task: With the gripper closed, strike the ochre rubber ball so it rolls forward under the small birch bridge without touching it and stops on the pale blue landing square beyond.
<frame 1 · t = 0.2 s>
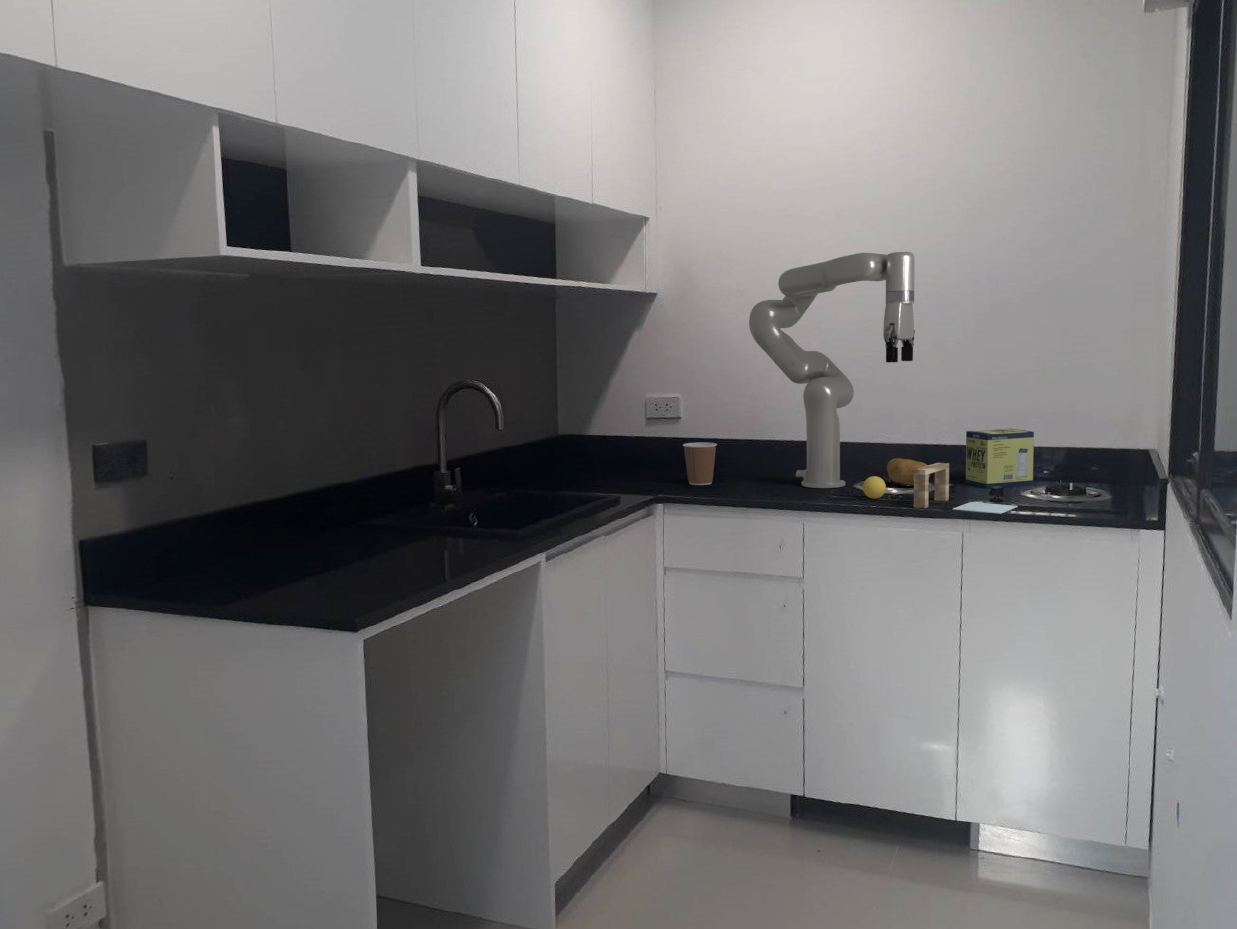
hand: (899, 361, 285), 36 cm above the counter, tool pointing down, fingers open, 9 cm apart
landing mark: (985, 508, 261), on the counter
potato: (908, 487, 299), on the counter
protein box: (998, 485, 298), on the counter
bridge: (931, 503, 270), on the counter
coffee cup: (700, 484, 316), on the counter
ball: (874, 487, 280), on the counter
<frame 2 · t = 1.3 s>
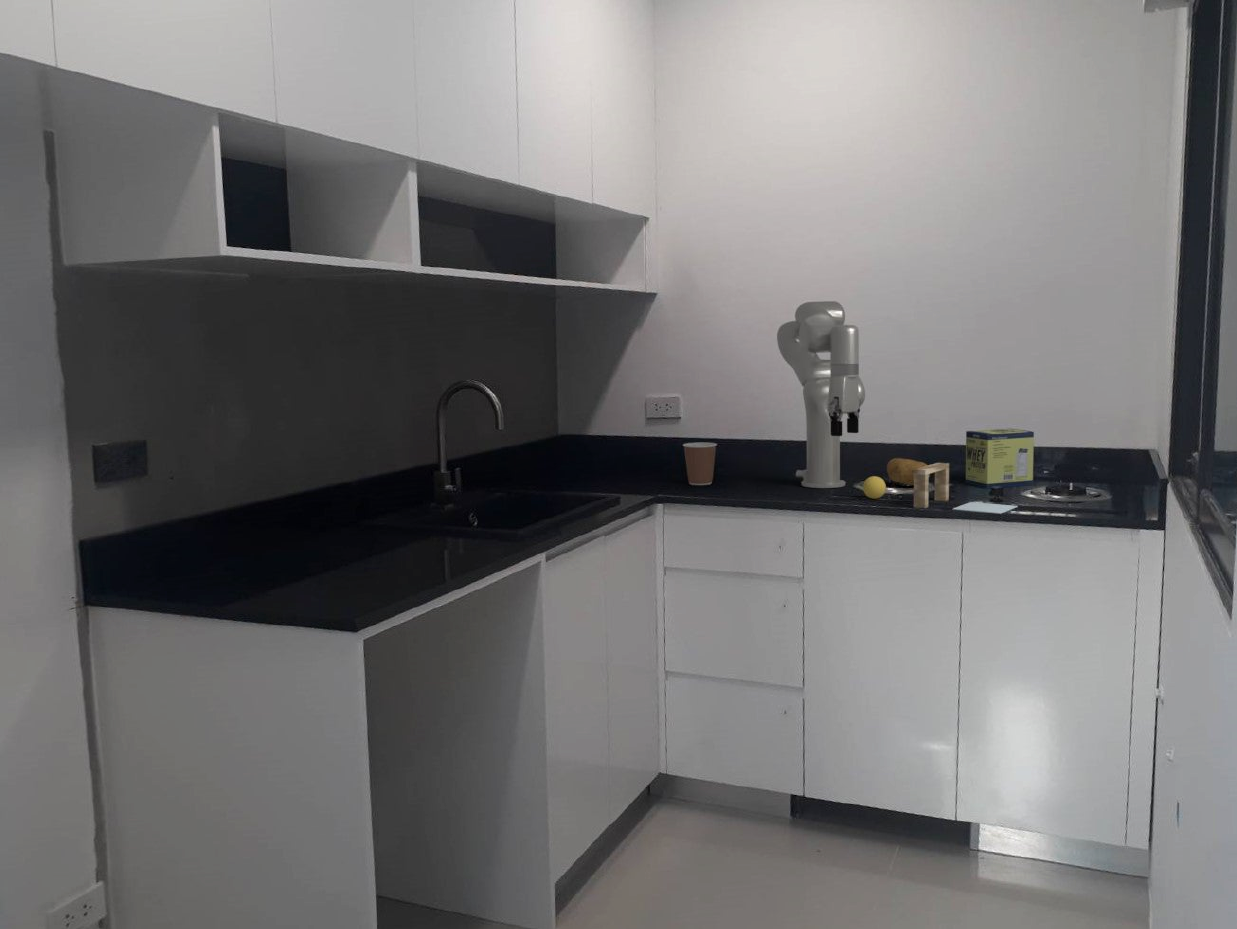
hand: (844, 434, 284), 17 cm above the counter, tool pointing down, fingers open, 9 cm apart
nothing on the counter moved.
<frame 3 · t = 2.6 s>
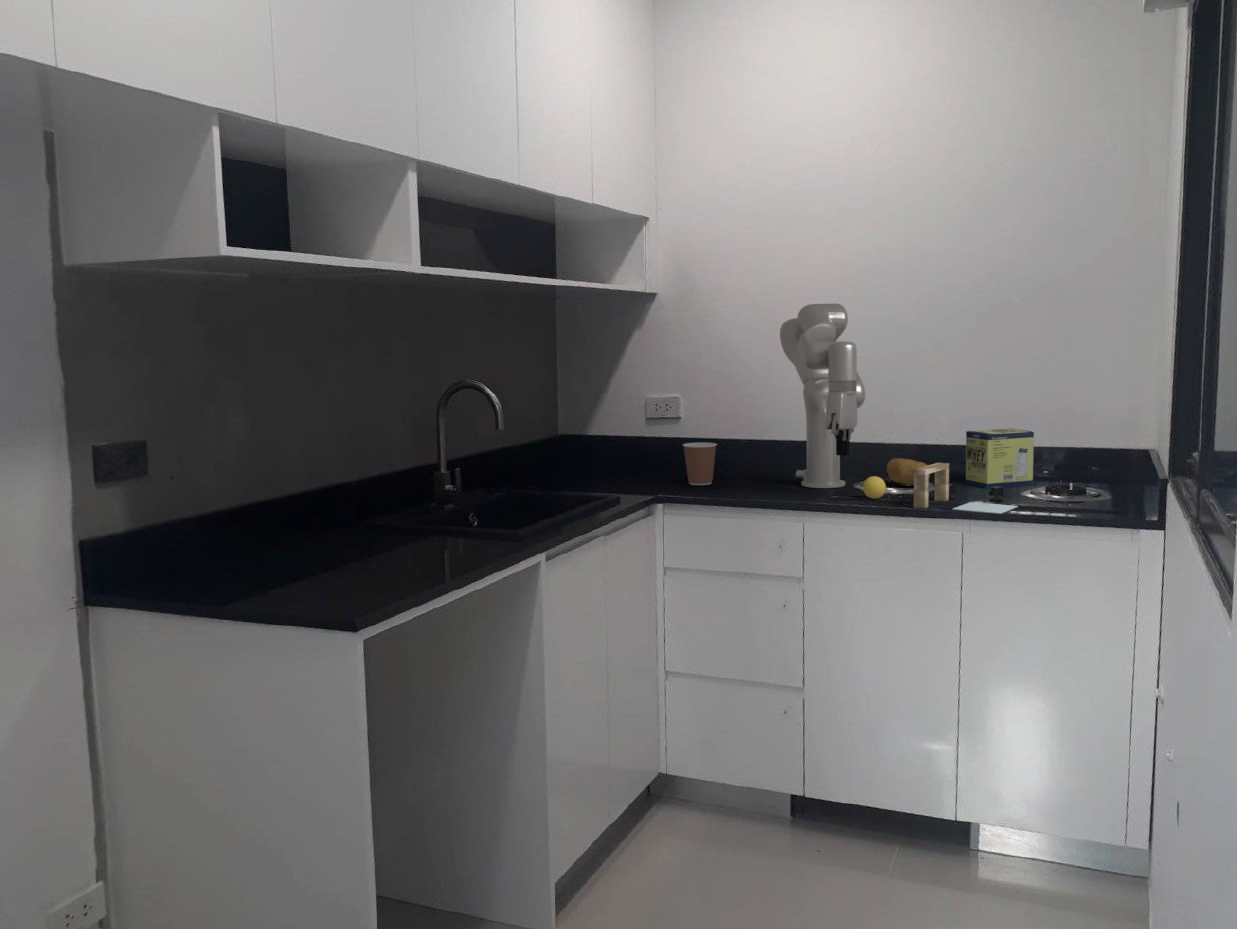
hand: (842, 455, 284), 11 cm above the counter, tool pointing down, fingers closed
nothing on the counter moved.
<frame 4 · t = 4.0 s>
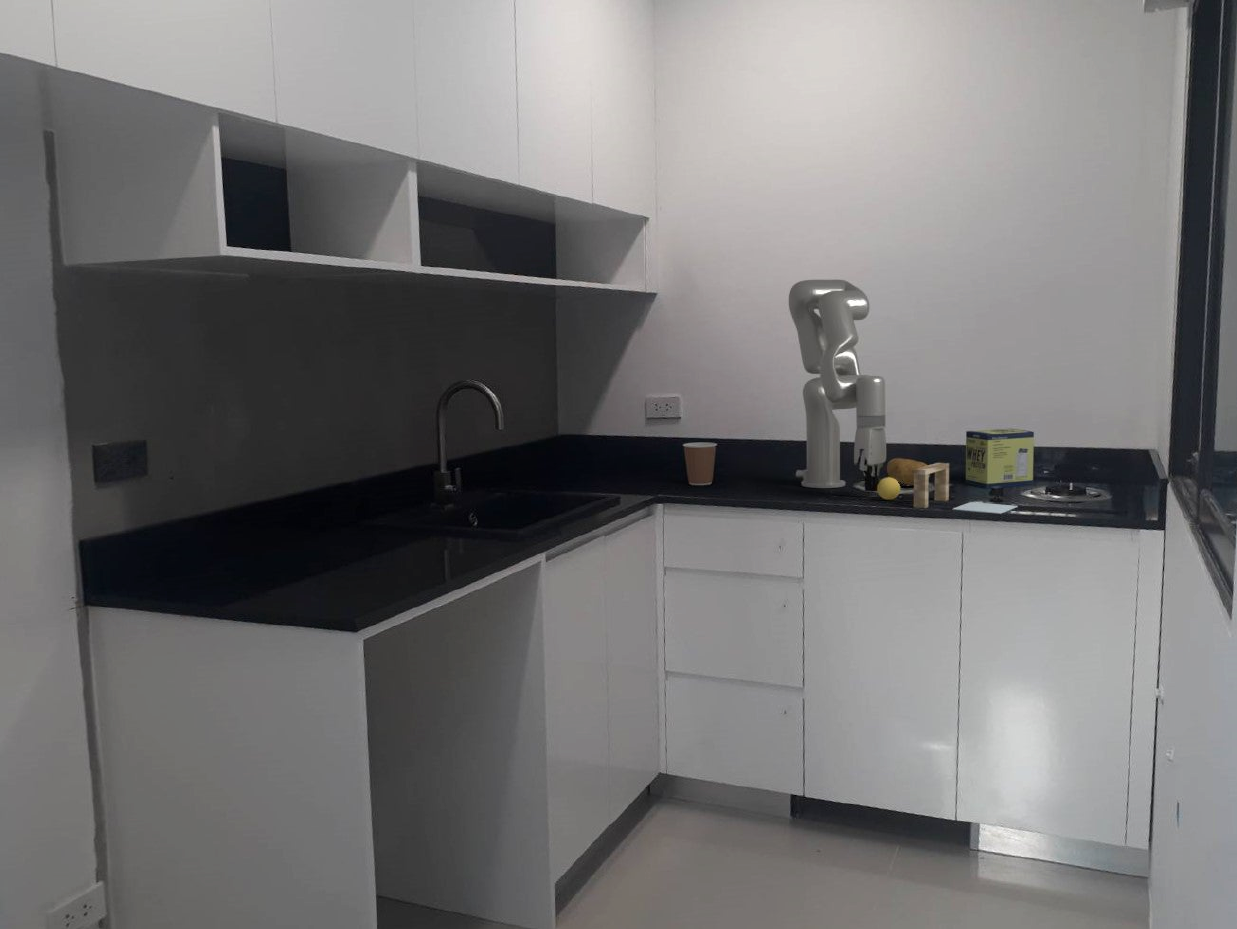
hand: (871, 490, 280), 2 cm above the counter, tool pointing down, fingers closed
ball: (888, 488, 277), on the counter
everything else where it was.
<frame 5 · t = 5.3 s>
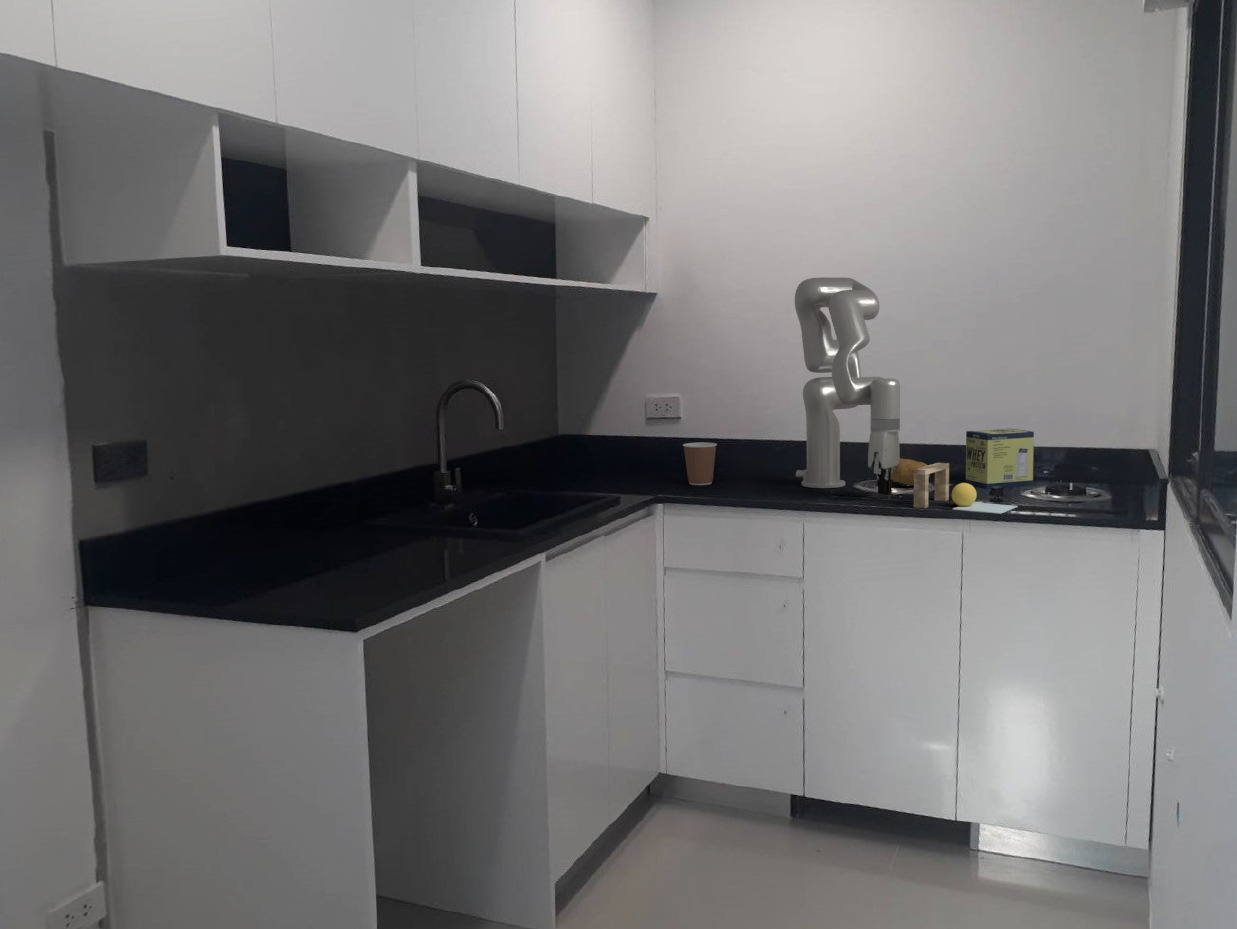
hand: (884, 493, 278), 2 cm above the counter, tool pointing down, fingers closed
ball: (964, 494, 264), on the counter
everything else where it was.
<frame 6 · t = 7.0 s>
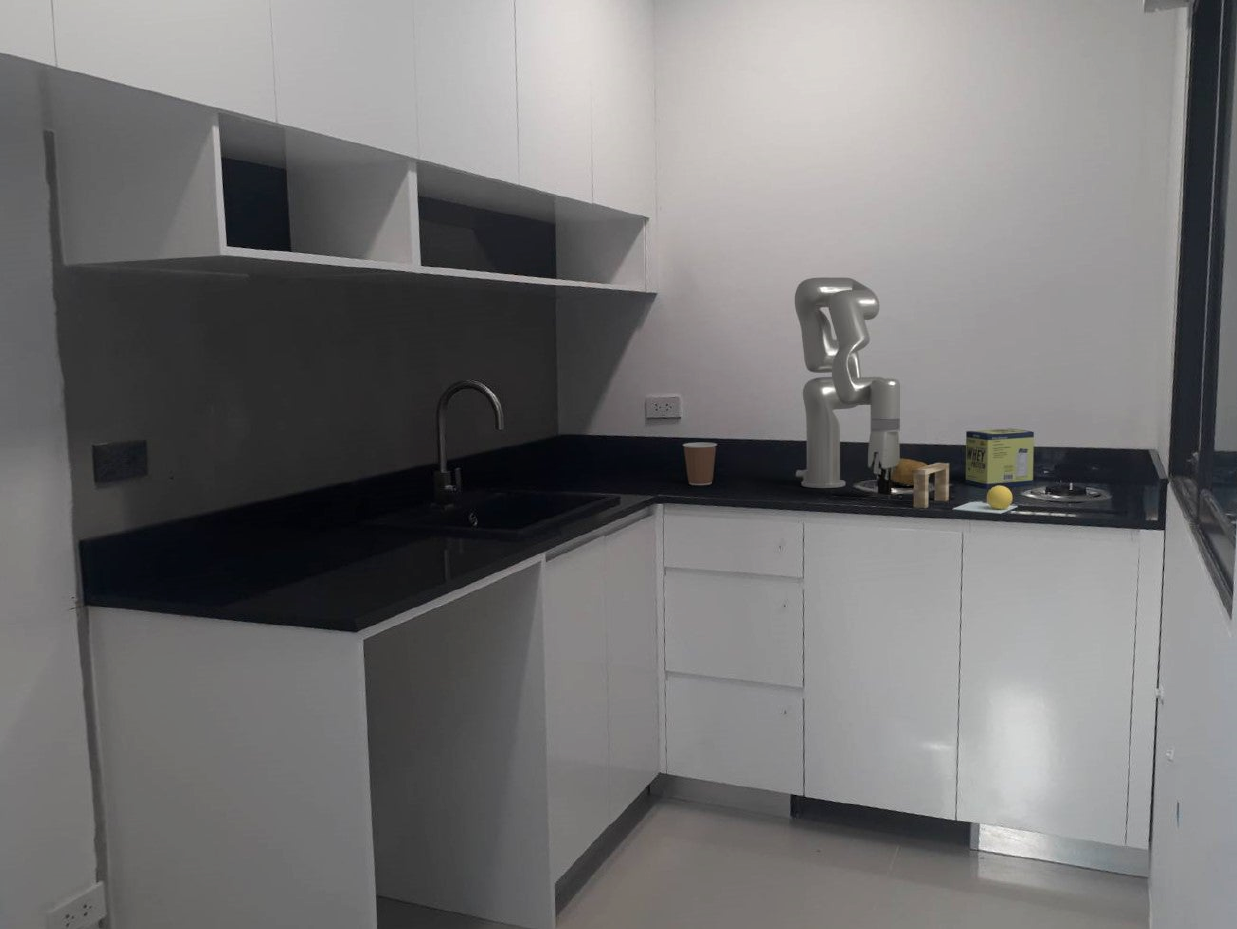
hand: (884, 493, 278), 2 cm above the counter, tool pointing down, fingers closed
ball: (999, 497, 258), on the counter
everything else where it was.
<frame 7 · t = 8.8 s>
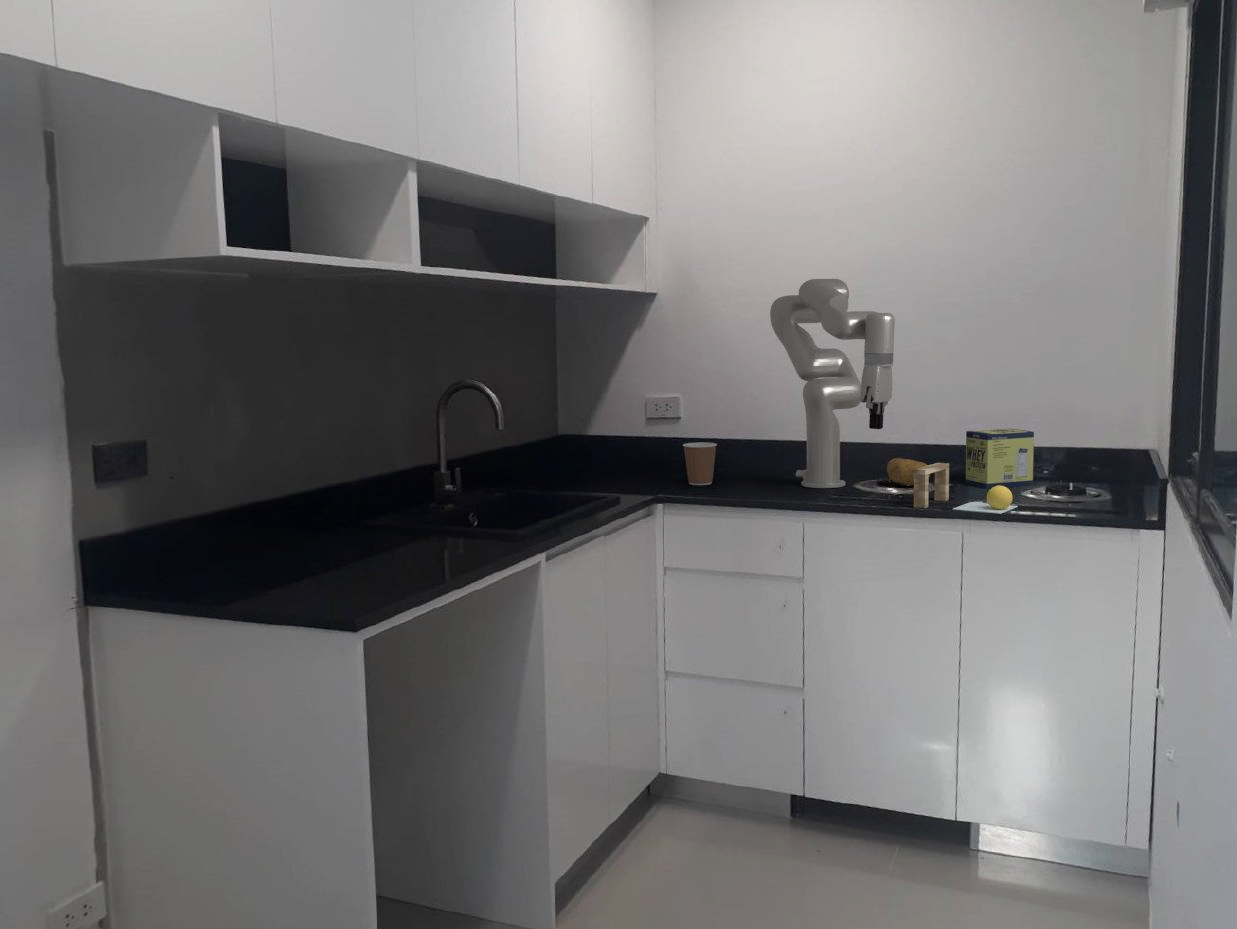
hand: (875, 428, 279), 19 cm above the counter, tool pointing down, fingers closed
nothing on the counter moved.
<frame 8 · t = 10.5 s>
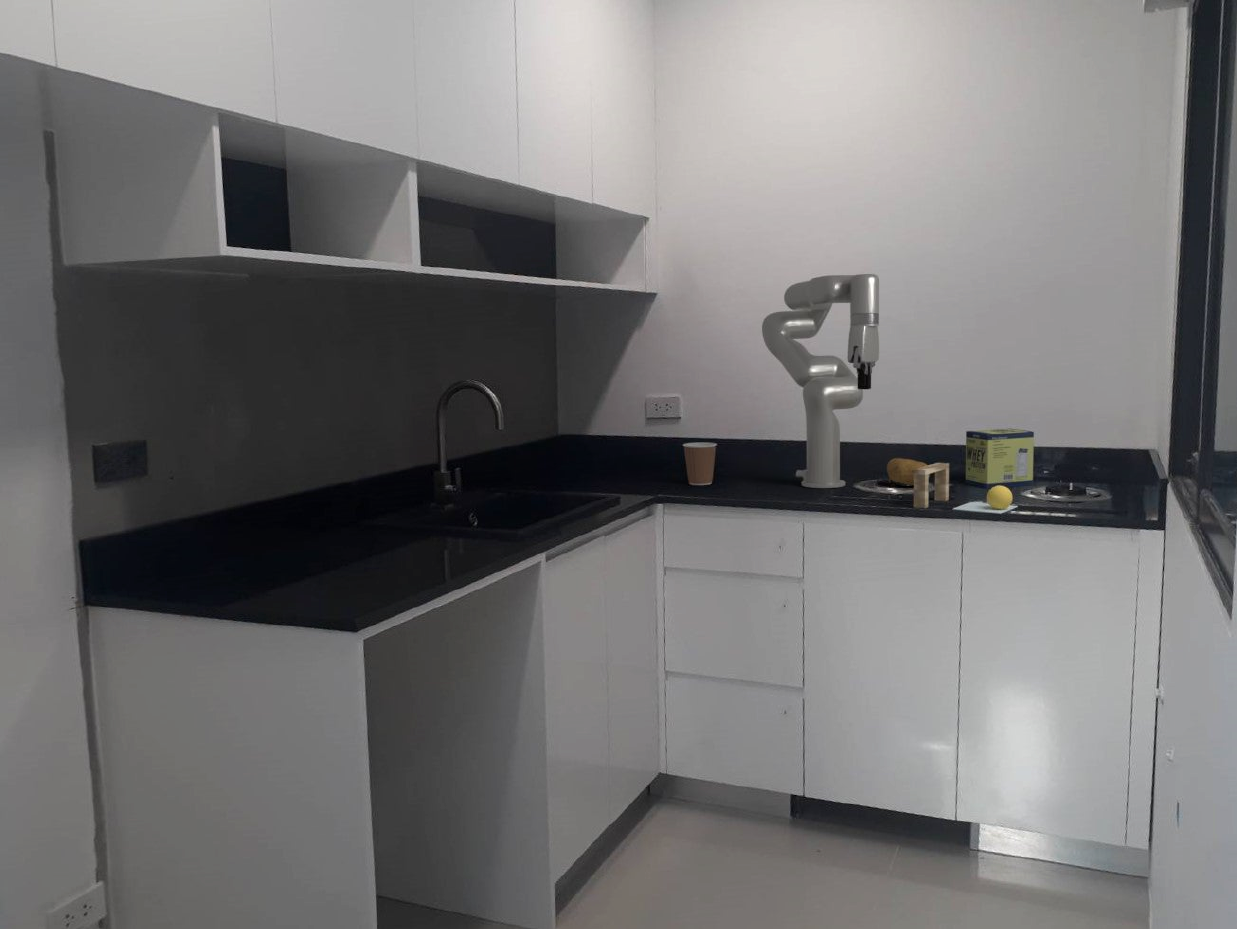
hand: (864, 389, 283), 29 cm above the counter, tool pointing down, fingers closed
nothing on the counter moved.
at the end: ball 3.7 cm from the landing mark (horizontally); ball never touched bridge; ball at rest at the end (0.0 cm/s) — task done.
